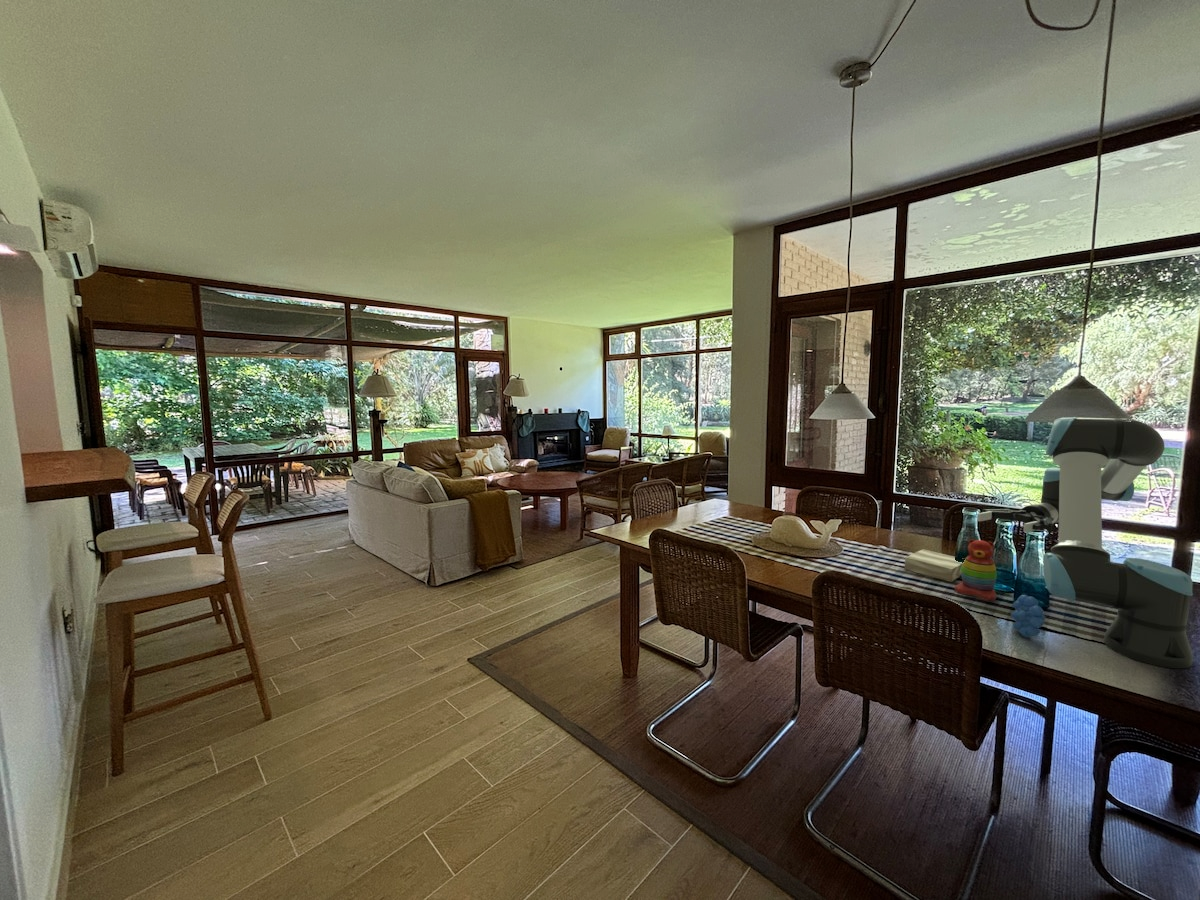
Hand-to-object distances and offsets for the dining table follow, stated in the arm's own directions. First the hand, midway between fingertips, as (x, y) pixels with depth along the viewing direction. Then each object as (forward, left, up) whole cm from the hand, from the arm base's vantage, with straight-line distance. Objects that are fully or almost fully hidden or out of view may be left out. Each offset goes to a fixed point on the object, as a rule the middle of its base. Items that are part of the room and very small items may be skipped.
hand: (1000, 522), depth 163 cm
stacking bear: (-10, +2, -23) cm, 25 cm away
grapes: (-33, -17, -23) cm, 43 cm away
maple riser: (+1, +18, -23) cm, 29 cm away
